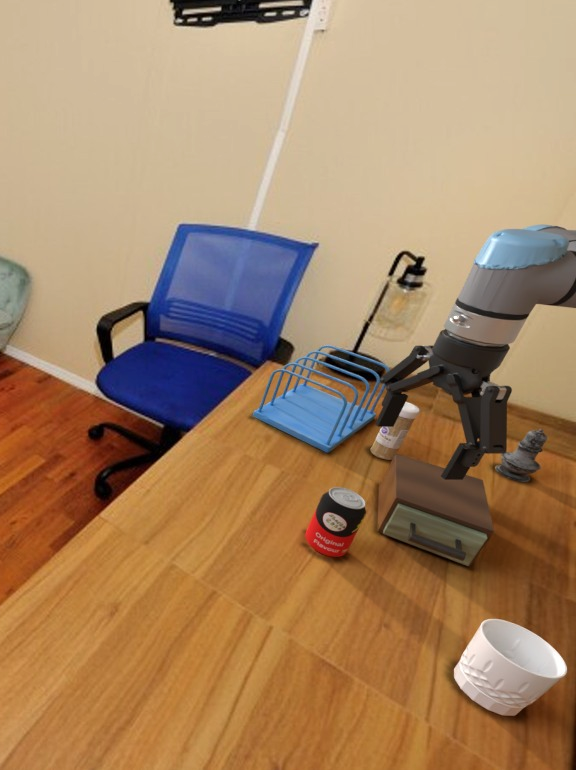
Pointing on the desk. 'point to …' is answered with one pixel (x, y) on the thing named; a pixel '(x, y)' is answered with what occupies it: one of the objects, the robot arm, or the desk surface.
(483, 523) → the cabinet
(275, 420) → the file sorter
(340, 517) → the beverage can
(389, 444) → the sprinkles bottle
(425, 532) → the drawer
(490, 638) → the white cup
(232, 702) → the desk surface
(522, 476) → the grey chess piece
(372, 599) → the desk surface
